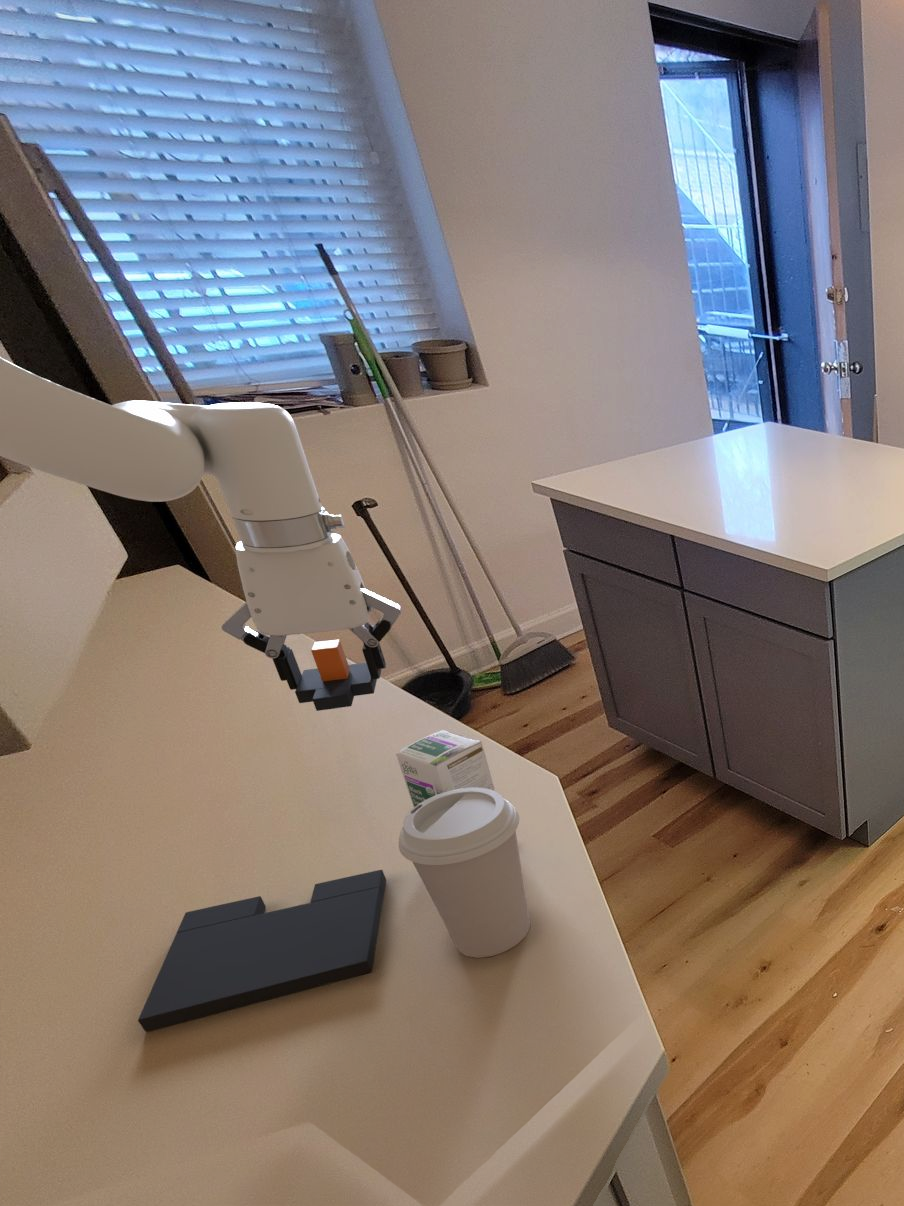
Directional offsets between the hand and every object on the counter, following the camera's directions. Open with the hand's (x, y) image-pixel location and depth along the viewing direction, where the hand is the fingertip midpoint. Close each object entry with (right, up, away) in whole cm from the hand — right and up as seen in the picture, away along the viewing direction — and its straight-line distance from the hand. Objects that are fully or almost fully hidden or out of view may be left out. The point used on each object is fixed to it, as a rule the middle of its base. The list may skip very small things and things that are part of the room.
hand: (337, 678), depth 92 cm
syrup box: (+18, -20, -3) cm, 27 cm away
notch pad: (+7, -27, -16) cm, 32 cm away
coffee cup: (+26, -26, -13) cm, 39 cm away
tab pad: (+1, -2, 0) cm, 2 cm away
